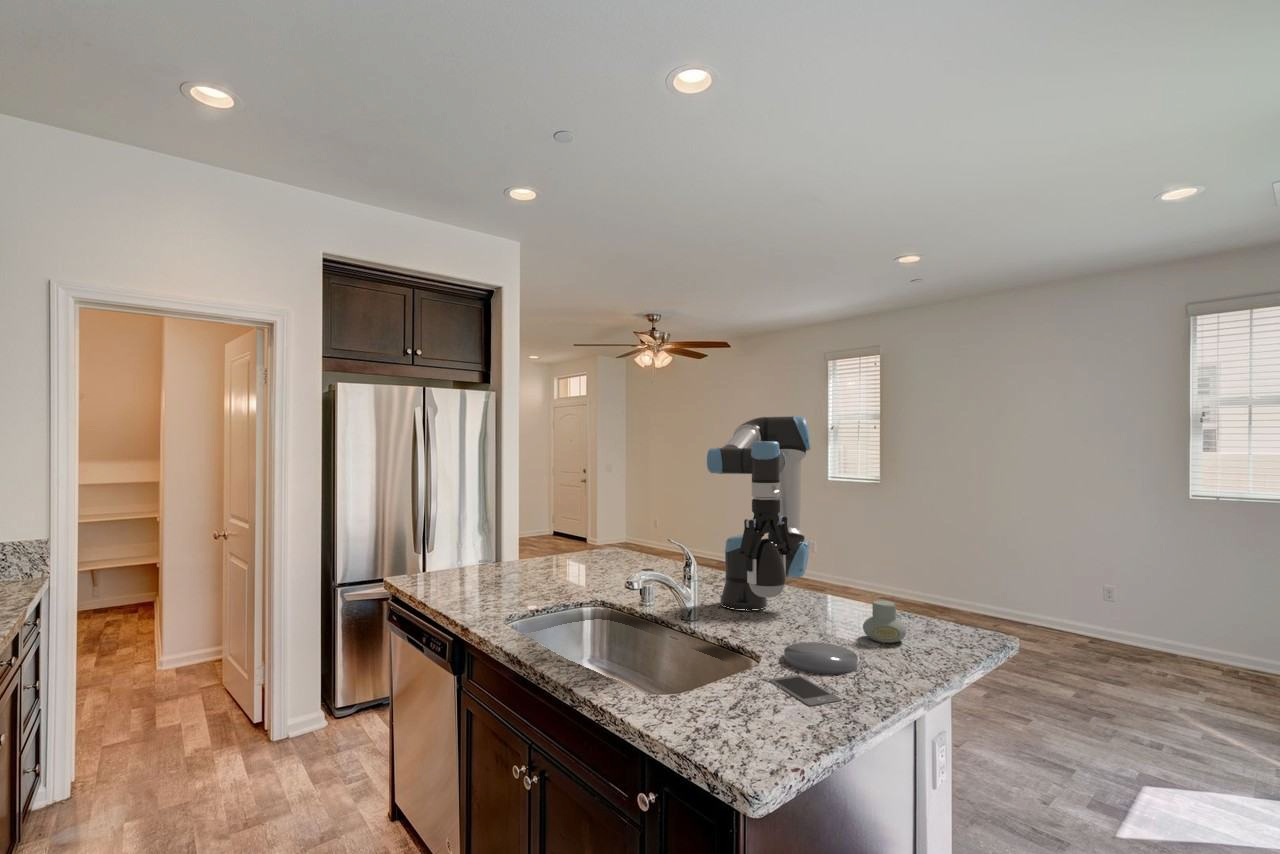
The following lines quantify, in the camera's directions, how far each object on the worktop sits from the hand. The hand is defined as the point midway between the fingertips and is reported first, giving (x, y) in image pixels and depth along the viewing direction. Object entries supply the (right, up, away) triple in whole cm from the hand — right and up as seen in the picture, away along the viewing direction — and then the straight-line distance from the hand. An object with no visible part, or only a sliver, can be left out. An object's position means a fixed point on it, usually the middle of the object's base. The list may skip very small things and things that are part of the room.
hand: (766, 580), depth 164 cm
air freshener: (+32, -16, +1) cm, 36 cm away
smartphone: (+1, -16, -34) cm, 37 cm away
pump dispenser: (0, -4, 0) cm, 4 cm away
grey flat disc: (+10, -16, -16) cm, 24 cm away
